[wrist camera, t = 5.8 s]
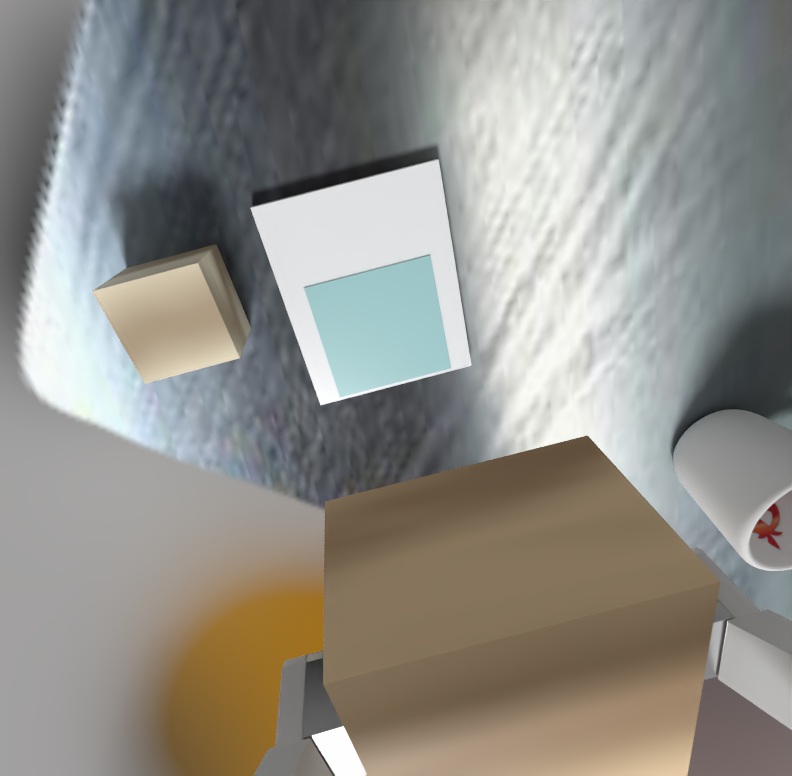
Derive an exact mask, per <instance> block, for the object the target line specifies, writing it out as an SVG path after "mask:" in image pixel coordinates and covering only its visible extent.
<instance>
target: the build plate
mask: <svg viewBox="0 0 792 776" xmlns="http://www.w3.org/2000/svg"><path fill="white" fill-rule="evenodd" d="M251 211H252V214H253V216H254V219H255V222H256V225H257V228H258V230H259V233H260V236H261V239H262V242H263V245H264V247H265V250H266V253H267V256H268V259H269V261H270V264H271V267H272V270H273V273H274V275H275V278H276V281H277V284H278V287H279V289H280V292H281V295H282V298H283V301H284V304H285V306H286V309H287V312H288V315H289V318H290V320H291V323H292V326H293V329H294V332H295V334H296V337H297V340H298V343H299V346H300V348H301V351H302V354H303V357H304V360H305V363H306V365H307V368H308V371H309V374H310V377H311V379H312V382H313V385H314V388H315V391H316V393H317V396H318V399H319V402H320V405H323V404H327V403H331V402H335V401H339V400H342V399H346V398H350V397H354V396H358V395H361V394H365V393H369V392H373V391H377V390H380V389H384V388H388V387H392V386H396V385H399V384H403V383H407V382H411V381H415V380H418V379H422V378H426V377H430V376H434V375H437V374H441V373H445V372H449V371H453V370H456V369H460V368H464V367H468V366H471V360H470V353H469V347H468V341H467V334H466V328H465V322H464V316H463V309H462V303H461V297H460V291H459V284H458V278H457V272H456V265H455V259H454V253H453V247H452V240H451V234H450V228H449V221H448V215H447V209H446V203H445V196H444V190H443V184H442V178H441V171H440V165H439V160H438V159H434V160H430V161H426V162H422V163H418V164H415V165H411V166H407V167H403V168H399V169H395V170H391V171H387V172H383V173H380V174H376V175H372V176H368V177H364V178H360V179H356V180H352V181H349V182H345V183H341V184H337V185H333V186H329V187H325V188H321V189H317V190H314V191H310V192H306V193H302V194H298V195H294V196H290V197H286V198H283V199H279V200H275V201H271V202H267V203H263V204H259V205H255V206H252V207H251Z"/></svg>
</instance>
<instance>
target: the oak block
mask: <svg viewBox="0 0 792 776" xmlns="http://www.w3.org/2000/svg"><path fill="white" fill-rule="evenodd" d="M324 556H325V557H324V558H325V560H324V647H323V649H324V650H323V685H324V687H325V689H326V691H327V693H328V695H329V697H330V699H331V702H332V704H333V706H334V708H335V710H336V712H337V714H338V716H339V718H340V720H341V722H342V724H343V726H344V728H345V730H346V732H347V734H348V736H349V739H350V741H351V743H352V745H353V747H354V749H355V751H356V753H357V755H358V757H359V759H360V761H361V763H362V765H363V767H364V769H365V771H366V773H367V776H687V774H688V768H689V762H690V756H691V750H692V745H693V739H694V733H695V727H696V721H697V715H698V710H699V704H700V698H701V692H702V686H703V680H704V675H705V669H706V663H707V657H708V651H709V645H710V639H711V634H712V628H713V622H714V616H715V610H716V604H717V599H718V593H719V587H720V581H719V579H718V578H717V577H716V576H715V575H714V574H713V573H712V572H711V571H710V570H709V568H708V567H707V566H706V565H705V564H704V563H703V562H702V561H701V560H700V559H699V557H698V556H697V555H696V554H695V553H694V552H693V551H692V550H691V549H690V548H689V546H688V545H687V544H686V543H685V542H684V541H683V540H682V539H681V538H680V537H679V536H678V534H677V533H676V532H675V531H674V530H673V529H672V528H671V527H670V526H669V525H668V523H667V522H666V521H665V520H664V519H663V518H662V517H661V516H660V515H659V514H658V512H657V511H656V510H655V509H654V508H653V507H652V506H651V505H650V504H649V503H648V501H647V500H646V499H645V498H644V497H643V496H642V495H641V494H640V493H639V492H638V490H637V489H636V488H635V487H634V486H633V485H632V484H631V483H630V482H629V481H628V480H627V478H626V477H625V476H624V475H623V474H622V473H621V472H620V471H619V470H618V469H617V467H616V466H615V465H614V464H613V463H612V462H611V461H610V460H609V459H608V458H607V456H606V455H605V454H604V453H603V452H602V451H601V450H600V449H599V448H598V447H597V445H596V444H595V443H594V442H593V441H592V440H591V439H590V438H589V437H588V436H584V437H580V438H576V439H572V440H568V441H564V442H560V443H556V444H552V445H548V446H544V447H540V448H537V449H533V450H529V451H525V452H521V453H517V454H513V455H509V456H505V457H501V458H497V459H493V460H489V461H485V462H481V463H477V464H473V465H469V466H465V467H461V468H457V469H453V470H449V471H445V472H441V473H437V474H433V475H429V476H425V477H421V478H417V479H413V480H409V481H405V482H401V483H397V484H393V485H389V486H385V487H381V488H377V489H373V490H370V491H366V492H362V493H358V494H354V495H350V496H346V497H342V498H338V499H334V500H330V501H326V502H325V555H324Z"/></svg>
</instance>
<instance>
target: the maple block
mask: <svg viewBox="0 0 792 776" xmlns="http://www.w3.org/2000/svg"><path fill="white" fill-rule="evenodd" d="M92 292H93V293H94V295H95V297H96V299H97V300H98V302H99V304H100V306H101V307H102V309H103V311H104V313H105V314H106V316H107V318H108V320H109V321H110V323H111V325H112V327H113V328H114V330H115V332H116V334H117V335H118V337H119V339H120V341H121V342H122V344H123V346H124V348H125V349H126V351H127V353H128V355H129V356H130V358H131V360H132V362H133V363H134V365H135V367H136V369H137V370H138V372H139V374H140V376H141V377H142V379H143V381H144V383H145V384H146V383H149V382H153V381H157V380H160V379H164V378H168V377H171V376H175V375H179V374H183V373H186V372H190V371H194V370H197V369H201V368H205V367H209V366H212V365H216V364H220V363H223V362H227V361H231V360H234V359H238V358H240V356H241V354H242V351H243V348H244V345H245V343H246V340H247V337H248V335H249V332H250V329H251V327H250V324H249V322H248V319H247V317H246V315H245V312H244V310H243V307H242V305H241V302H240V300H239V298H238V295H237V293H236V290H235V288H234V286H233V283H232V281H231V278H230V276H229V273H228V271H227V269H226V266H225V264H224V261H223V259H222V256H221V254H220V252H219V249H218V247H217V244H215V245H211V246H207V247H203V248H200V249H196V250H192V251H188V252H185V253H181V254H177V255H173V256H170V257H166V258H162V259H158V260H155V261H151V262H147V263H143V264H140V265H136V266H132V267H128V268H126V269H124V270H123V271H121V272H120V273H118V274H117V275H116V276H114V277H113V278H111V279H110V280H108V281H107V282H105V283H104V284H102V285H101V286H99V287H98V288H96V289H95V290H93V291H92Z"/></svg>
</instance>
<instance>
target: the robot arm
mask: <svg viewBox="0 0 792 776" xmlns="http://www.w3.org/2000/svg"><path fill="white" fill-rule="evenodd" d="M690 549H691V550H692V551H693V552H694V553H695V554H696V555H697V556H698V557H699V559H700V560H701V561H702V562H703V563H704V564H705V565H706V566H707V567H708V568H709V570H710V571H711V572H712V573H713V574H714V575H715V576H716V577H717V578H718V579H719V581H720V587H719V593H718V599H717V604H716V610H715V616H714V622H713V628H712V634H711V639H710V645H709V651H708V657H707V663H706V669H705V675H704V680H705V679H709V678H713V677H717V676H718V679H719V680H720V681H722V682H723V683H725V684H726V685H727V686H729V687H730V688H732V689H733V690H735V691H736V692H738V693H739V694H740V695H742V696H743V697H745V698H746V699H748V700H749V701H751V702H752V703H753V704H755V705H756V706H758V707H760V708H761V709H762V710H764V711H765V712H767V713H768V714H769V715H771V716H772V717H774V718H775V719H777V720H778V721H779V722H781V723H782V724H784V725H785V726H787V727H788V728H790V729H791V730H792V621H791V620H789V619H787V618H785V617H783V616H781V615H779V614H776V613H774V612H772V611H770V610H768V609H767V610H763V611H760V610H759V609H758V608H757V607H756V606H755V605H754V604H753V603H752V602H751V601H750V600H749V599H748V598H747V597H746V596H745V594H744V593H743V592H742V591H741V590H740V589H739V588H738V587H737V586H736V585H735V584H734V583H733V582H732V581H731V580H730V579H729V578H728V577H727V576H726V575H725V574H724V573H723V572H722V571H721V569H720V568H719V567H718V566H717V565H716V564H715V563H714V562H713V561H712V560H711V559H710V558H709V557H708V556H707V555H706V554H705V553H704V552H703V551H702V550H701V549H699V548H697V547H692V548H690ZM363 775H367V773H366V771H365V769H364V767H363V765H362V763H361V761H360V759H359V757H358V755H357V753H356V751H355V749H354V747H353V745H352V743H351V741H350V739H349V736H348V734H347V732H346V730H345V728H344V726H343V724H342V722H341V720H340V718H339V716H338V714H337V712H336V710H335V708H334V706H333V704H332V702H331V699H330V697H329V695H328V693H327V691H326V689H325V687H324V685H323V651H320V652H316V653H312V654H308V655H304V656H301V657H297V658H294V659H290V660H286V661H285V663H284V666H283V669H282V676H281V688H280V700H279V711H278V723H277V735H276V746H275V747H274V748H271V749H268V751H267V753H266V755H265V756H264V758H263V760H262V762H261V764H260V765H259V767H258V769H257V771H256V773H255V774H254V776H363Z"/></svg>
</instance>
